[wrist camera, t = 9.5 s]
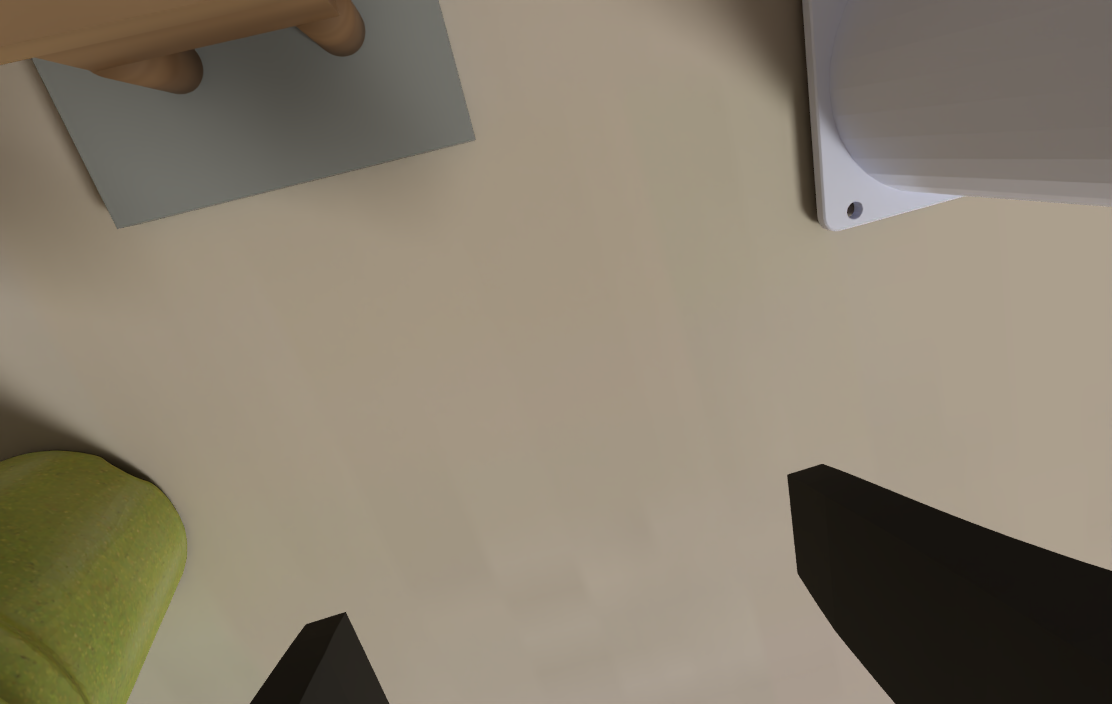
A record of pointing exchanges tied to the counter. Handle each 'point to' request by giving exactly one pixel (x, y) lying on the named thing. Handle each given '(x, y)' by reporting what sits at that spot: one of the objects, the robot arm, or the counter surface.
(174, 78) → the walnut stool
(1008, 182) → the robot arm
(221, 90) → the slate mat
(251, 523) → the counter surface
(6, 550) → the plant pot
